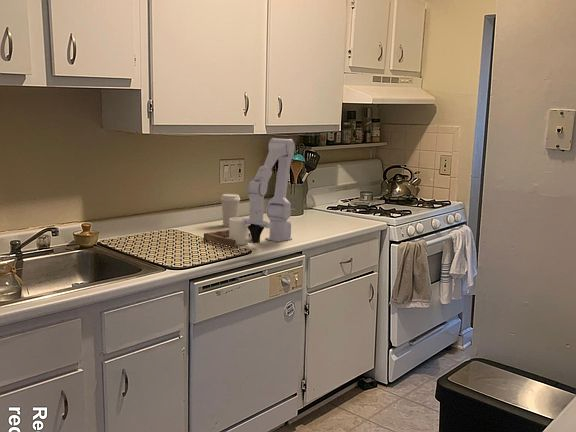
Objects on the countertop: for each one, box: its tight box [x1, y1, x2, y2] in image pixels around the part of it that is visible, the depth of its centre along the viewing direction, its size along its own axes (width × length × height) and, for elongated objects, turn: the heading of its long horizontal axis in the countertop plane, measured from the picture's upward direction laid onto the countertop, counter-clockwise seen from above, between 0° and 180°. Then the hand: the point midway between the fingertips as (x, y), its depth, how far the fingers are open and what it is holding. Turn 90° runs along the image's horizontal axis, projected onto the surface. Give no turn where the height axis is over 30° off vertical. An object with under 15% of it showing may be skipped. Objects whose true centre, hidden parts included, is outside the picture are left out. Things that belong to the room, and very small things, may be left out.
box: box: [203, 228, 261, 248], centre depth 249 cm, size 16×18×3 cm
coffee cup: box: [220, 193, 241, 228], centre depth 282 cm, size 10×10×15 cm
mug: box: [228, 216, 252, 246], centre depth 245 cm, size 12×8×10 cm
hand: (255, 242), depth 240 cm, fingers closed
